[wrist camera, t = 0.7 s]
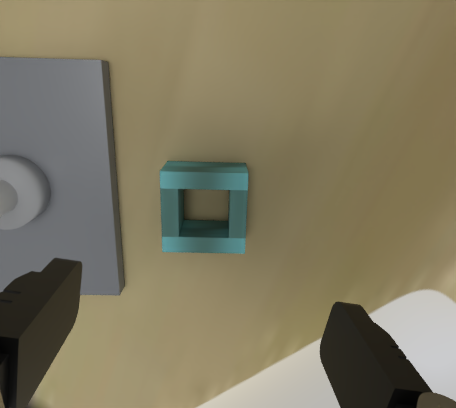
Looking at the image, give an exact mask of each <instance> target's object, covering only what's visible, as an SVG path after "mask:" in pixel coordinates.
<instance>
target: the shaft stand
mask: <svg viewBox="0 0 456 408" xmlns="http://www.w3.org/2000/svg"><path fill="white" fill-rule="evenodd" d="M54 258H62V259H69V260H75V261H81V262H82V279H81V289H80V295H120V294H121V292H122V290H123V288H124V286H125V284H124V271H123V257H122V243H121V230H120V216H119V203H118V189H117V175H116V162H115V148H114V135H113V121H112V107H111V94H110V80H109V67H108V62H107V61H103V60H81V59H48V58H14V57H0V292H3V289H5V288H6V287H7V286H8V285H9V284H10V283H11V282H12V281H13V280H14V279H15V278H18V277H20V276H22V275H24V274H26V273H28V272H31V271H35V272H41V271H42V270H43V269H44V268H45V267H46V266H47V265H48V264H49V263H50V262H51V261H52V259H54Z"/></svg>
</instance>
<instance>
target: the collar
mask: <svg viewBox="0 0 456 408" xmlns="http://www.w3.org/2000/svg"><path fill="white" fill-rule="evenodd" d="M184 189H208V190H229V213H228V221H216V220H184ZM160 193H161V222H162V252H192V253H243V254H245V238H246V217H247V195H248V170H247V167H246V163H224V162H183V161H167V163H166V164H165V165H164V166H163V168H162V169H161V170H160Z"/></svg>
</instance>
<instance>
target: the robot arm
mask: <svg viewBox="0 0 456 408" xmlns="http://www.w3.org/2000/svg"><path fill="white" fill-rule="evenodd" d="M81 279H82V262H81V261H75V260H69V259H62V258H54V259H52V261H51V262H50V263H49V264H48V265H47V266H46V267H45V268H44V269H43V270H42V271H41V272H35V271H31V272H28V273H26V274H24V275H22V276H20V277H18V278H15V279H14V280H13V281H12V282H11V283H10V284H9V285H8V286H7V287H6V288H5V289H3V292H0V408H26V406H27V405H28V403H29V401H30V399H31V398H32V396H33V394H34V393H35V391H36V389H37V387H38V386H39V384H40V382H41V381H42V379H43V377H44V375H45V374H46V372H47V370H48V369H49V367H50V365H51V364H52V362H53V360H54V358H55V357H56V355H57V353H58V352H59V350H60V348H61V346H62V345H63V343H64V341H65V340H66V338H67V336H68V335H69V333H70V331H71V329H72V328H73V325H74V323H75V320H76V317H77V314H78V309H79V300H80V289H81ZM320 358H321V362H322V364H323V367H324V369H325V371H326V374H327V376H328V379H329V381H330V383H331V385H332V388H333V391H334V393H335V395H336V398H337V400H338V402H339V405H340V407H341V408H456V402H455V401H454V400H452V399H450V398H448V397H446V396H443V395H440V394H437V393H433V392H432V390H431V389H430V388H429V386H428V385H427V384H426V382H425V381H424V380H423V379H422V377H421V376H420V375H419V373H418V372H417V371H416V369H415V368H414V366H413V365H412V364H411V363H410V361H409V360H407V359H406V356H405V354H404V353H403V352H402V351H401V349H399V348H398V345H397V344H396V343H395V341H394V340H393V339H392V337H391V336H390V335H389V334H388V333H387V332H386V331H385V330H383V329H382V328H381V327H380V326H378V325H377V324H376V323H374V322H373V321H372V320H371V318H370V317H369V316H368V314H367V313H366V311H365V310H364V309H363V307H362V306H361V305H357V304H350V303H344V302H336V303H335V304H334V305H333V307H332V310H331V313H330V316H329V319H328V322H327V325H326V328H325V331H324V334H323V337H322V340H321V344H320Z"/></svg>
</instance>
